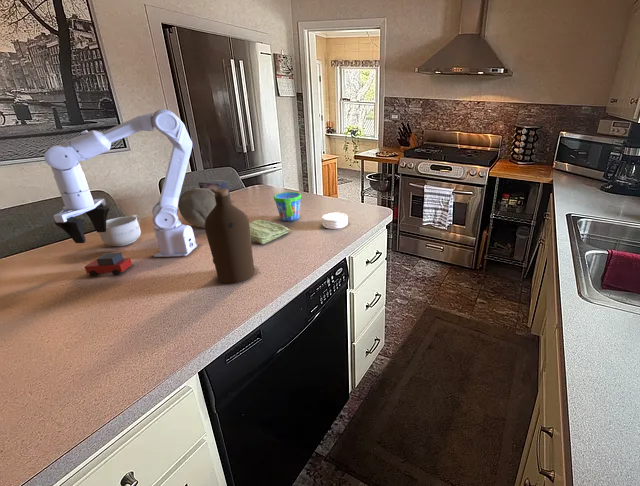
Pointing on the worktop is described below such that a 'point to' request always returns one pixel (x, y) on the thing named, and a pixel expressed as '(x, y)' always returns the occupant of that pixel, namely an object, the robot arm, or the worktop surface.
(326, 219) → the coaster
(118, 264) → the toy car
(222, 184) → the small box
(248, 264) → the olive oil
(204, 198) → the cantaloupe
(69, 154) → the robot arm
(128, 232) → the teacup
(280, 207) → the snack cup
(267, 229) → the washcloth
